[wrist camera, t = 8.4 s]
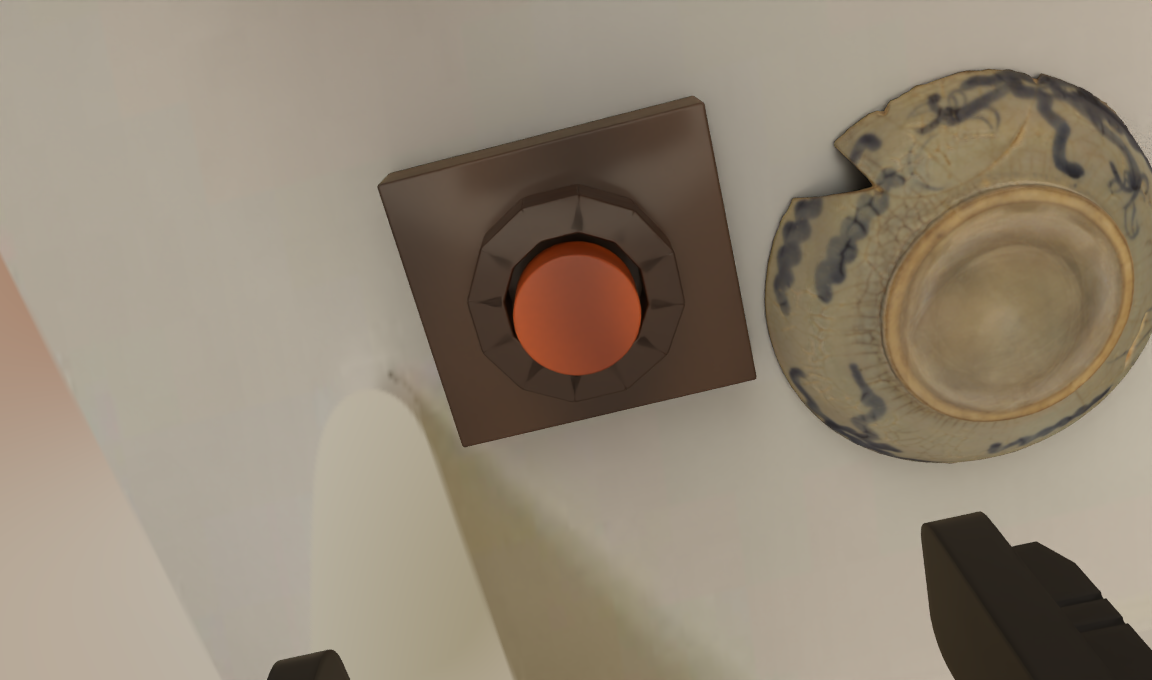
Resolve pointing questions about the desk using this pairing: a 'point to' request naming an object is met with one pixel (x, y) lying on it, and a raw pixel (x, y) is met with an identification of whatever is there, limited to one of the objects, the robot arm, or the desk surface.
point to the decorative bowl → (968, 270)
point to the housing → (561, 214)
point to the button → (576, 308)
